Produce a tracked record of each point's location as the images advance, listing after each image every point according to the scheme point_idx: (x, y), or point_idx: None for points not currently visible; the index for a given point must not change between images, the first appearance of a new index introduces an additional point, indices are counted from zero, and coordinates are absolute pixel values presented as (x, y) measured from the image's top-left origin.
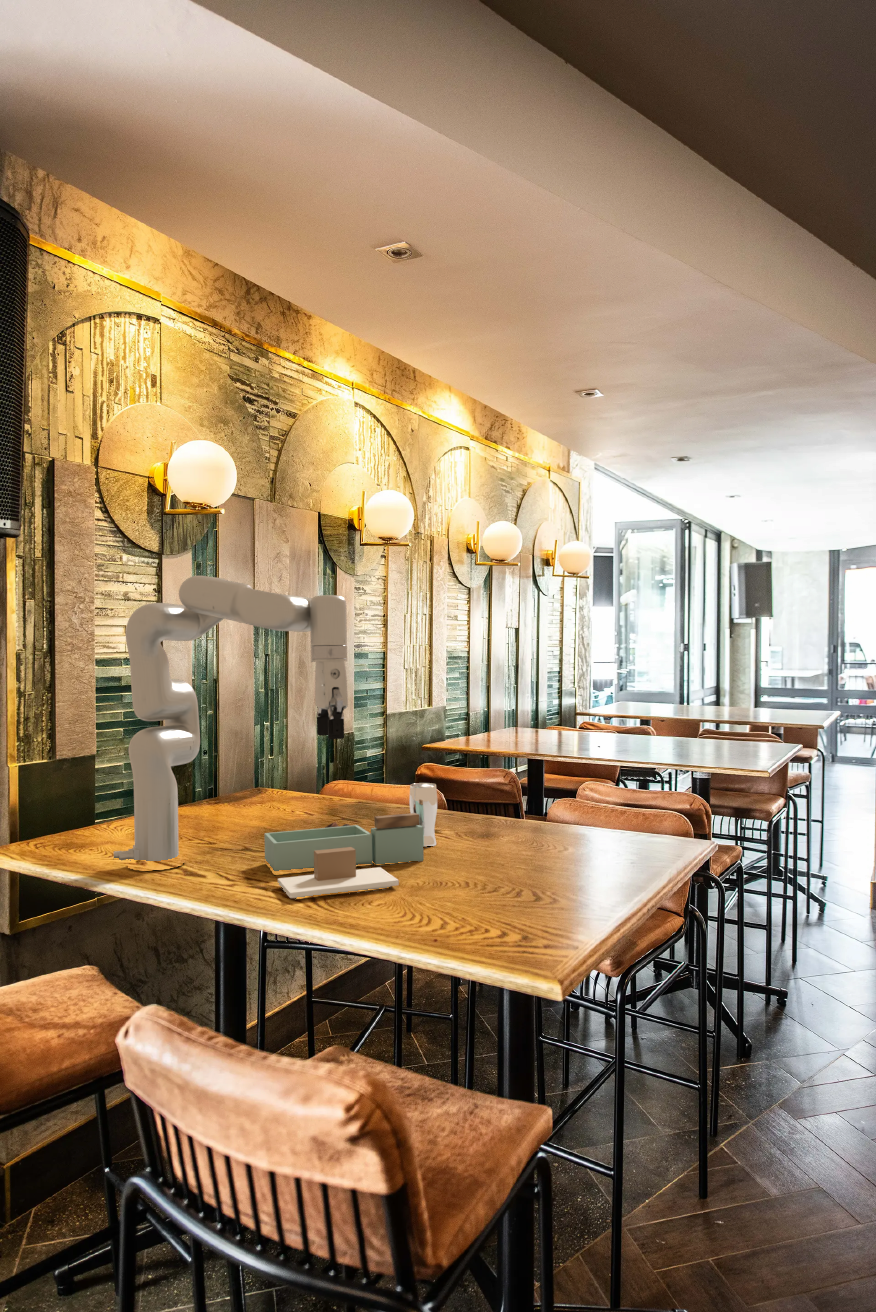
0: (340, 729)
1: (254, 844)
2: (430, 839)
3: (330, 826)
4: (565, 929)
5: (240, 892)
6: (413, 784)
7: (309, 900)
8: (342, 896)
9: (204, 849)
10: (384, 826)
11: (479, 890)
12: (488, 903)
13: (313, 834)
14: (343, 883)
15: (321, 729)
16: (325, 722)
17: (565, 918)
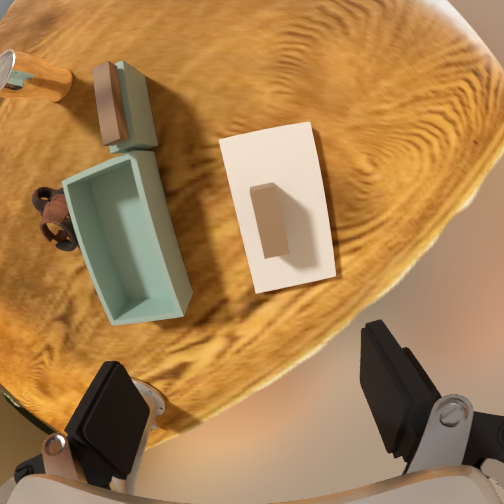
0: (416, 363)
1: (45, 309)
2: (65, 72)
3: (61, 226)
4: (459, 35)
5: (269, 327)
6: None
7: None
8: None
9: (71, 357)
10: (125, 126)
11: (333, 32)
12: (388, 45)
13: (91, 252)
14: (309, 204)
15: (137, 419)
16: (116, 434)
17: (435, 16)
